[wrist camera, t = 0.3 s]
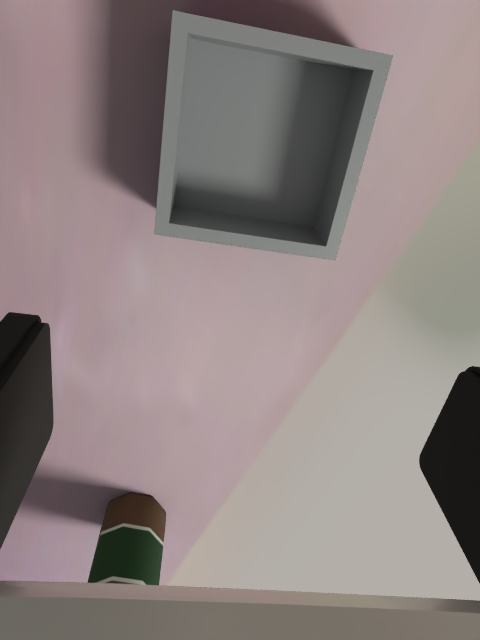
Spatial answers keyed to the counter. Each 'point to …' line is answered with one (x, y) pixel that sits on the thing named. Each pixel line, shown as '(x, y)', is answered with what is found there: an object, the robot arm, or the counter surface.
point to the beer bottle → (130, 542)
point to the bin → (263, 136)
